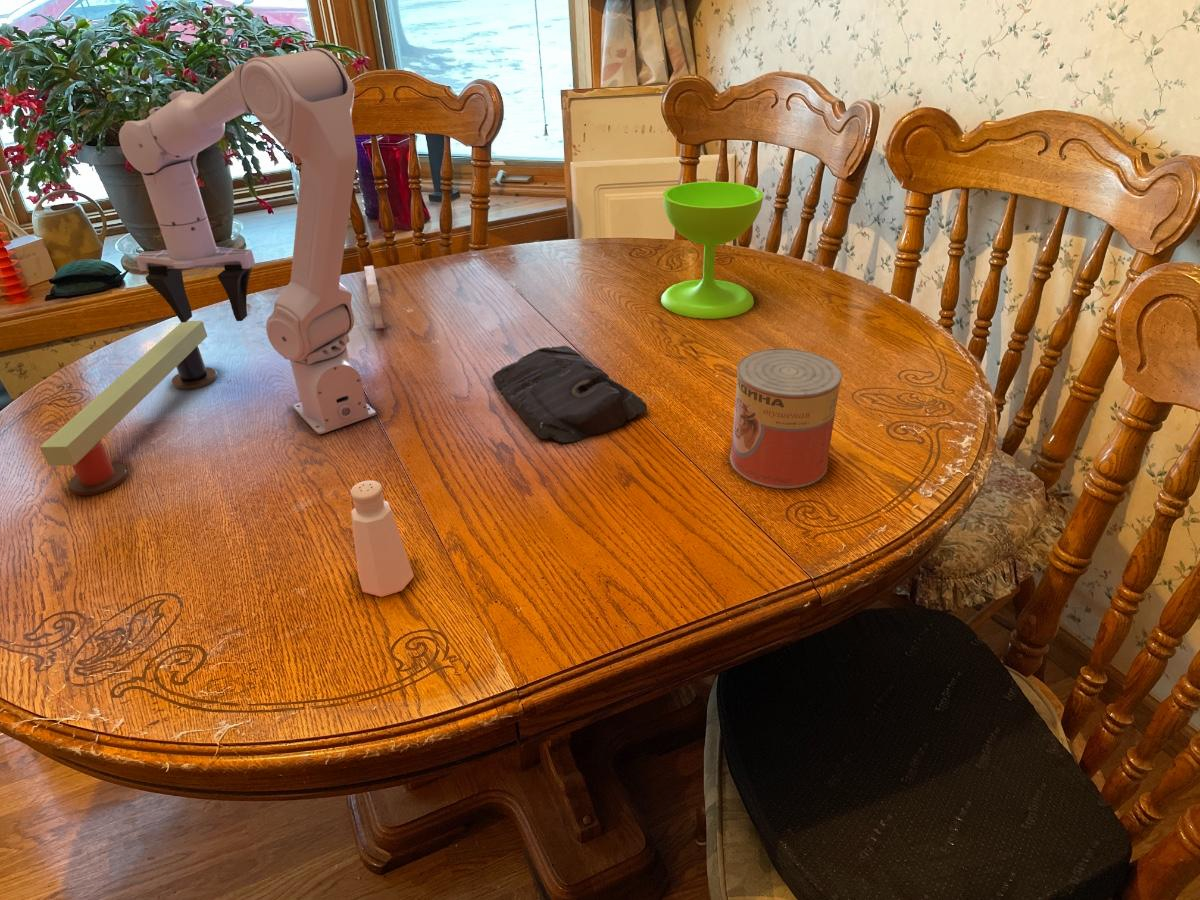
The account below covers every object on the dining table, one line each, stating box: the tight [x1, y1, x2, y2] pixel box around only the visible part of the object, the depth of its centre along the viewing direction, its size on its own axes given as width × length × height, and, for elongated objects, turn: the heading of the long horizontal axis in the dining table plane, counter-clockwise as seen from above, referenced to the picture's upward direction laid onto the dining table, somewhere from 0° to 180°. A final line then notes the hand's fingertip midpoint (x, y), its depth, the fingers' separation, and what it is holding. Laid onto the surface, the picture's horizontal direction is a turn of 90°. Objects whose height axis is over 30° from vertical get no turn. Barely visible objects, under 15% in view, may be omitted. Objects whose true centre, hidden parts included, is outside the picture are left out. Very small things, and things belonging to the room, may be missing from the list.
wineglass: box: [660, 181, 764, 320], centre depth 129 cm, size 16×16×18 cm
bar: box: [39, 320, 208, 467], centre depth 100 cm, size 34×3×2 cm, turn 0°
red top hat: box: [68, 439, 128, 497], centre depth 91 cm, size 6×6×5 cm
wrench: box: [363, 265, 386, 330], centre depth 134 cm, size 8×2×30 cm
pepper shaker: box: [349, 479, 415, 598], centre depth 74 cm, size 5×5×11 cm
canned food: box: [729, 348, 843, 490], centre depth 89 cm, size 11×11×12 cm
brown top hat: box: [171, 345, 218, 391], centre depth 112 cm, size 6×6×5 cm
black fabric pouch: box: [491, 345, 648, 445], centre depth 105 cm, size 15×22×5 cm
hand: (214, 318), depth 106 cm, fingers open, 7 cm apart
